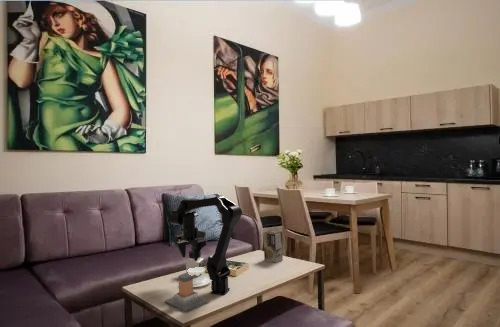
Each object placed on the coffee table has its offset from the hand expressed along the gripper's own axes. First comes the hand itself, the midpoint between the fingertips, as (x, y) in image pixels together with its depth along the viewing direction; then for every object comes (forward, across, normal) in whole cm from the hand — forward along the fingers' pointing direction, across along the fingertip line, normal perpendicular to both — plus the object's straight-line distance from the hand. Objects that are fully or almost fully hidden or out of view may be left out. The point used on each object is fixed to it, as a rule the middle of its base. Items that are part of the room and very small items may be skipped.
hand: (189, 259), depth 149 cm
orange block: (+11, -15, +13) cm, 23 cm away
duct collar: (+12, -15, +13) cm, 23 cm away
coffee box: (+12, -8, -53) cm, 55 cm away
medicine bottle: (+12, +10, -11) cm, 19 cm away
